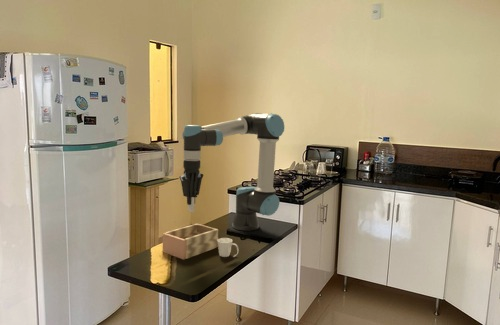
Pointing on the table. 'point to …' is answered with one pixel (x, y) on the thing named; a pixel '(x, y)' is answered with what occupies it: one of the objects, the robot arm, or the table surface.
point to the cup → (225, 247)
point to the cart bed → (197, 238)
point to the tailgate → (174, 246)
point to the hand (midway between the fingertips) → (190, 211)
